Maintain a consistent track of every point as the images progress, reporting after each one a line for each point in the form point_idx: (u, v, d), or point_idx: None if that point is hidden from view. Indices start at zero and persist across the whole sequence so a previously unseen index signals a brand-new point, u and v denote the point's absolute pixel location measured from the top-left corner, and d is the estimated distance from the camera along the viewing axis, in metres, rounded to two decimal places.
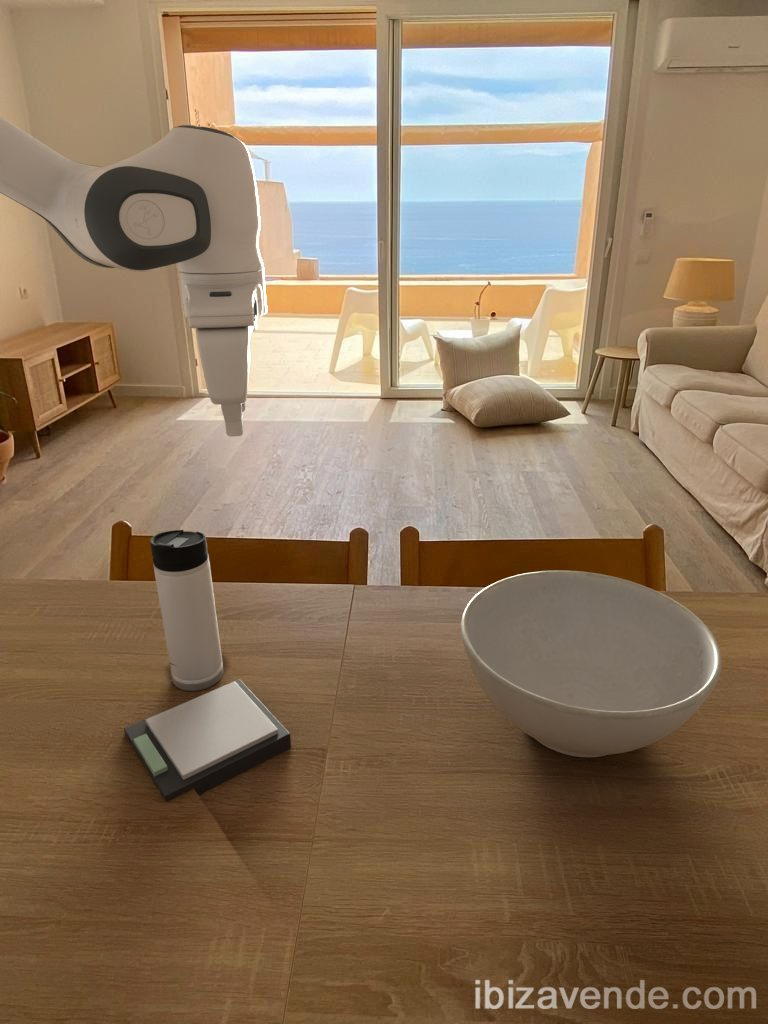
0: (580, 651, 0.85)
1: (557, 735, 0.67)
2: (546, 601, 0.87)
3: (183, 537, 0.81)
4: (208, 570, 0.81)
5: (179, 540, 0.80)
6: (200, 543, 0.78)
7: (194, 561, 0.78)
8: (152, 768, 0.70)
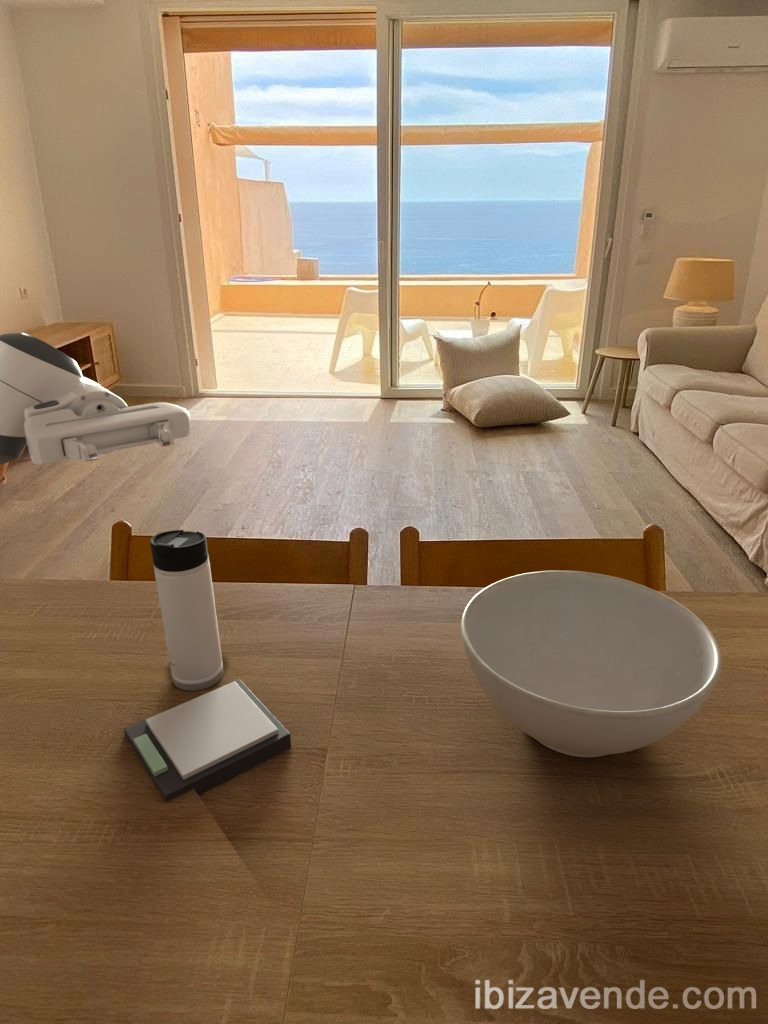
0: (580, 651, 0.85)
1: (557, 735, 0.67)
2: (546, 601, 0.87)
3: (183, 537, 0.81)
4: (208, 570, 0.81)
5: (179, 540, 0.80)
6: (200, 543, 0.78)
7: (195, 561, 0.78)
8: (152, 768, 0.70)
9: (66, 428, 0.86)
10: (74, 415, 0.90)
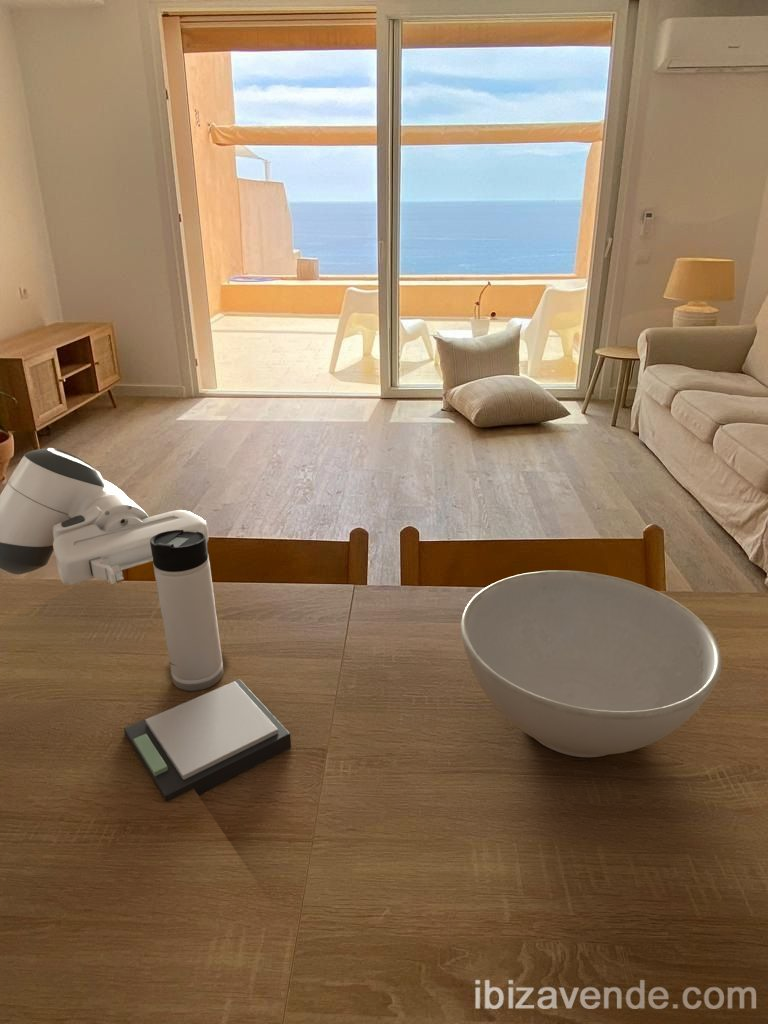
0: (580, 651, 0.85)
1: (557, 735, 0.67)
2: (546, 601, 0.87)
3: (183, 537, 0.81)
4: (208, 570, 0.81)
5: (179, 540, 0.80)
6: (200, 543, 0.78)
7: (194, 561, 0.78)
8: (152, 768, 0.70)
9: (93, 548, 0.91)
10: (99, 531, 0.95)
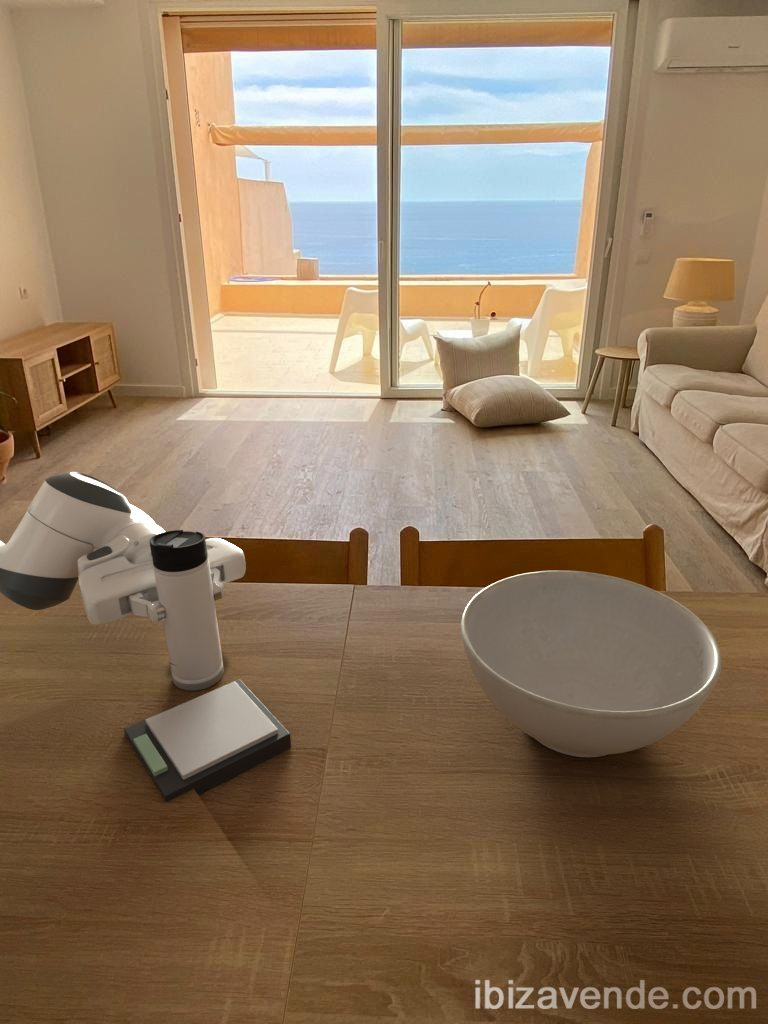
0: (580, 651, 0.85)
1: (557, 735, 0.67)
2: (546, 601, 0.87)
3: (182, 537, 0.81)
4: (208, 570, 0.81)
5: (179, 540, 0.80)
6: (199, 543, 0.78)
7: (194, 561, 0.78)
8: (152, 768, 0.70)
9: (123, 584, 0.83)
10: (128, 564, 0.87)
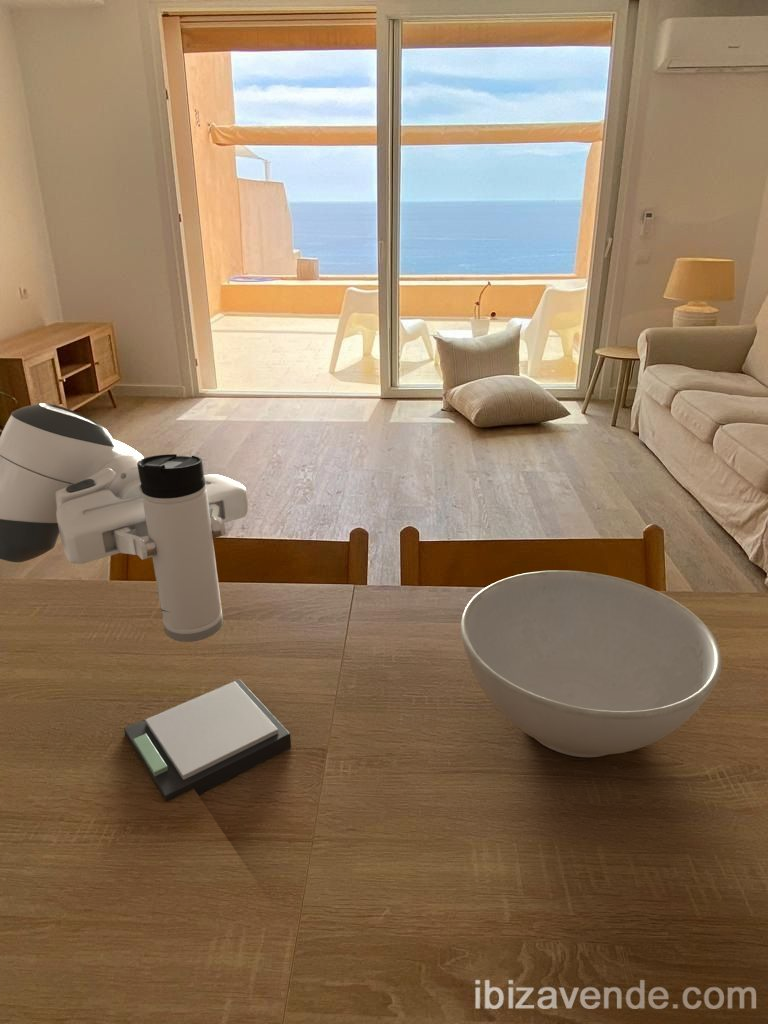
0: (580, 651, 0.85)
1: (557, 735, 0.67)
2: (546, 601, 0.87)
3: (176, 461, 0.70)
4: (205, 499, 0.70)
5: (172, 463, 0.68)
6: (196, 465, 0.67)
7: (189, 486, 0.67)
8: (152, 768, 0.70)
9: (107, 518, 0.72)
10: (114, 498, 0.76)
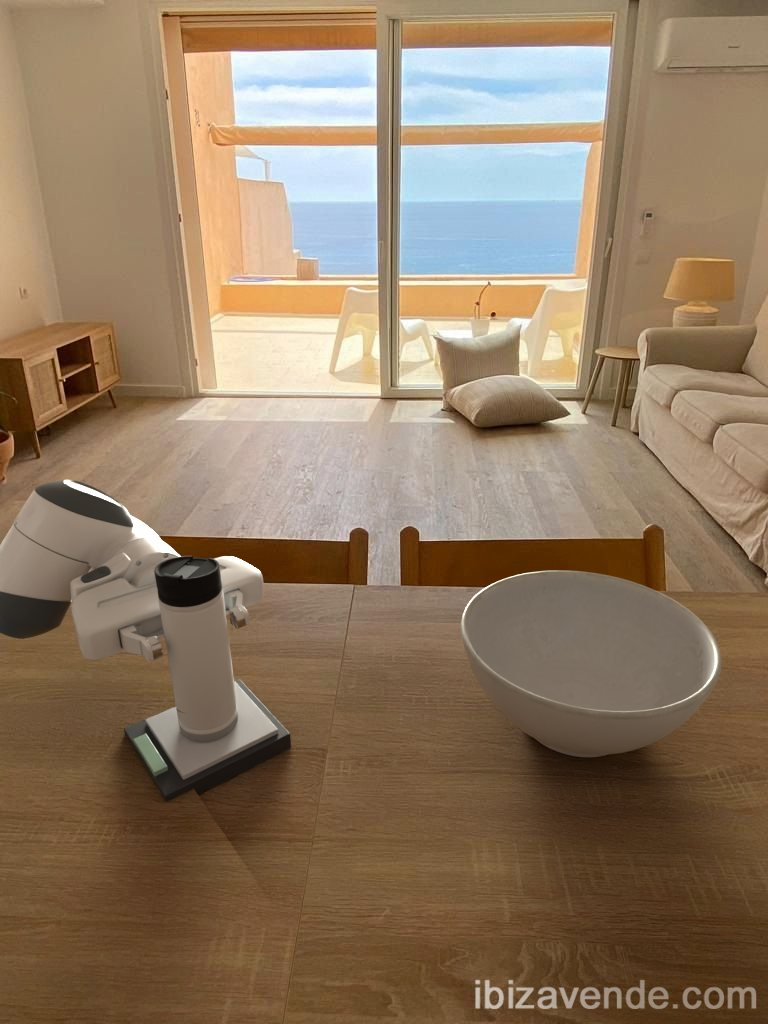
0: (580, 651, 0.85)
1: (557, 735, 0.67)
2: (546, 601, 0.87)
3: (193, 565, 0.69)
4: (222, 603, 0.69)
5: (188, 569, 0.68)
6: (213, 573, 0.67)
7: (207, 594, 0.67)
8: (152, 768, 0.70)
9: (123, 612, 0.71)
10: (129, 587, 0.75)
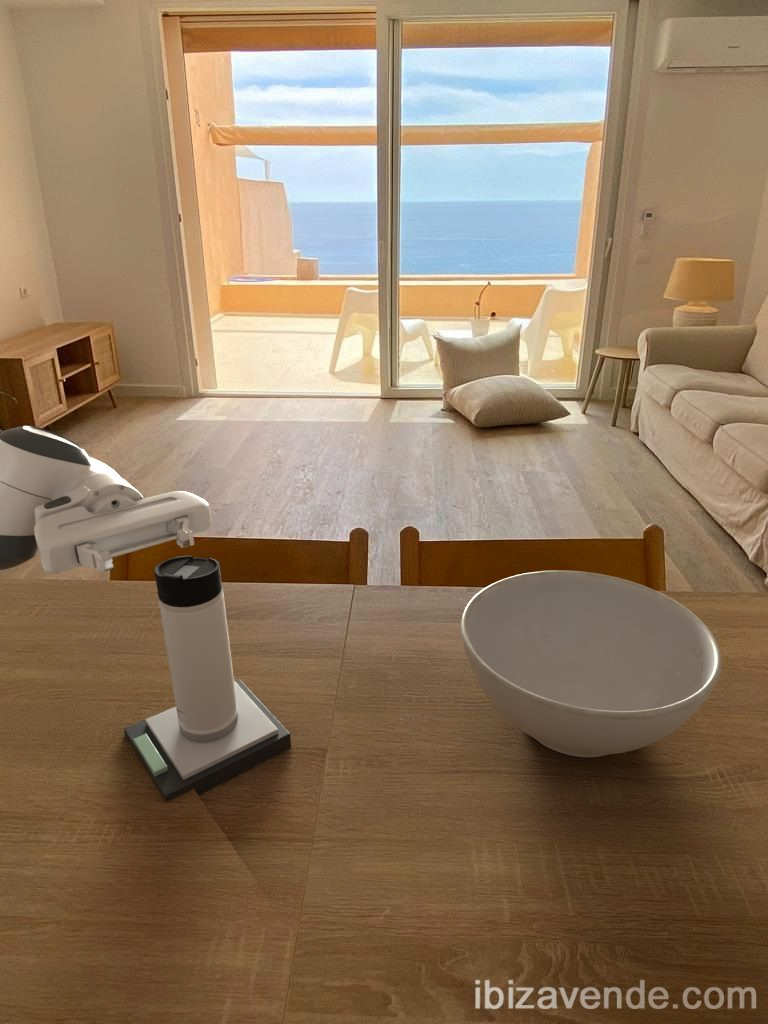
0: (580, 651, 0.85)
1: (557, 735, 0.67)
2: (546, 601, 0.87)
3: (193, 565, 0.69)
4: (222, 603, 0.69)
5: (188, 569, 0.68)
6: (213, 573, 0.67)
7: (207, 594, 0.67)
8: (152, 768, 0.70)
9: (79, 532, 0.80)
10: (87, 513, 0.84)
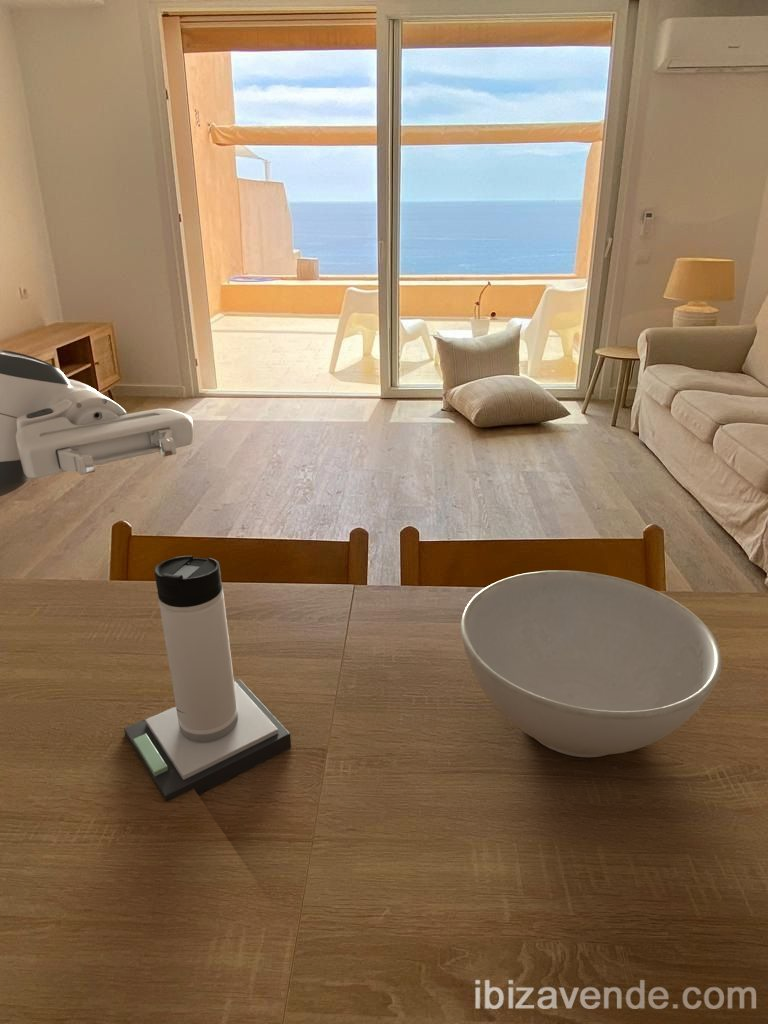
0: (580, 651, 0.85)
1: (557, 735, 0.67)
2: (546, 601, 0.87)
3: (193, 565, 0.69)
4: (222, 603, 0.69)
5: (188, 569, 0.68)
6: (213, 573, 0.67)
7: (207, 594, 0.67)
8: (152, 768, 0.70)
9: (61, 438, 0.80)
10: (69, 424, 0.84)
